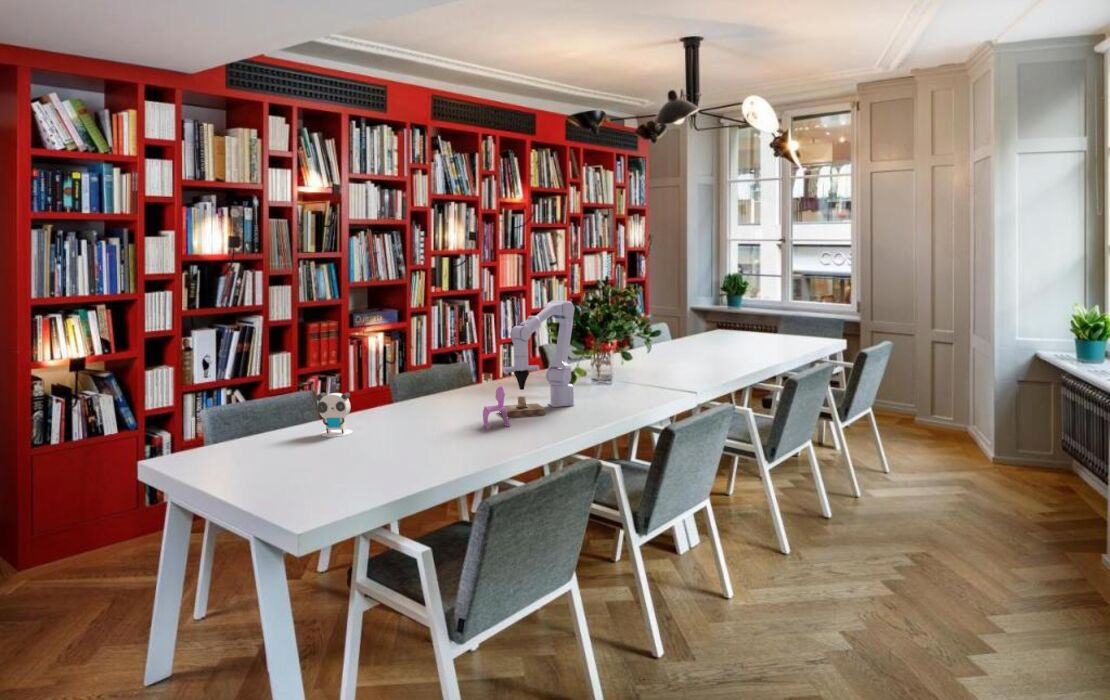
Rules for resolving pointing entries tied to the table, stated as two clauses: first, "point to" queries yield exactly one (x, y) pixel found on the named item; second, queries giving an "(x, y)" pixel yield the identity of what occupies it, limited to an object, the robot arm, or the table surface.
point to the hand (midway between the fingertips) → (521, 389)
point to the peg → (521, 402)
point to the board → (524, 410)
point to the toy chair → (496, 407)
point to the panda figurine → (334, 413)
